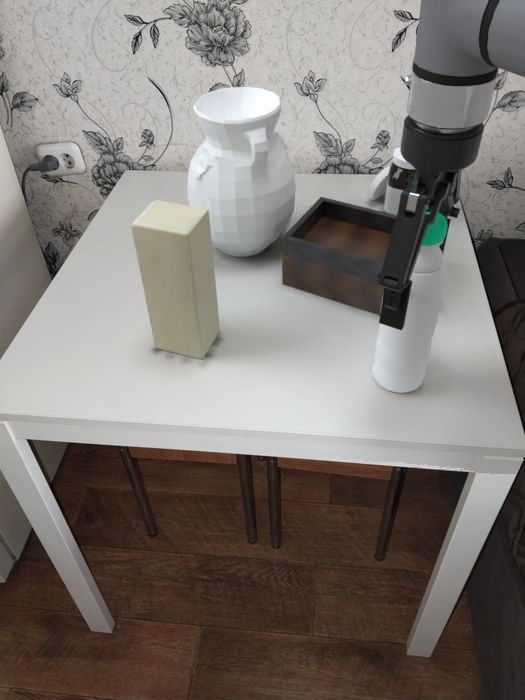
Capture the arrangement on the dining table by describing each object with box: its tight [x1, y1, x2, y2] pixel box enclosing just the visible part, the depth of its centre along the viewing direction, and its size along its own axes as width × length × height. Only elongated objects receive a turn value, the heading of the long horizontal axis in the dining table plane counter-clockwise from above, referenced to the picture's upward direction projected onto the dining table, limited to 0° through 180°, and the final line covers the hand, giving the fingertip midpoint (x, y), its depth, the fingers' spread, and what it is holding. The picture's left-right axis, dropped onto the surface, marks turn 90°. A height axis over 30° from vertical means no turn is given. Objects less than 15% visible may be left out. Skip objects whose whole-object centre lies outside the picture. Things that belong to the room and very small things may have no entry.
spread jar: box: [367, 146, 416, 215], centre depth 109 cm, size 12×11×12 cm
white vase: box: [186, 86, 297, 258], centre depth 98 cm, size 19×18×25 cm
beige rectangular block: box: [130, 199, 221, 360], centre depth 81 cm, size 8×7×21 cm
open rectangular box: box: [281, 196, 397, 316], centre depth 95 cm, size 18×14×9 cm
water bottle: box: [371, 212, 449, 394], centre depth 73 cm, size 7×7×25 cm
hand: (411, 291), depth 71 cm, fingers open, 13 cm apart
